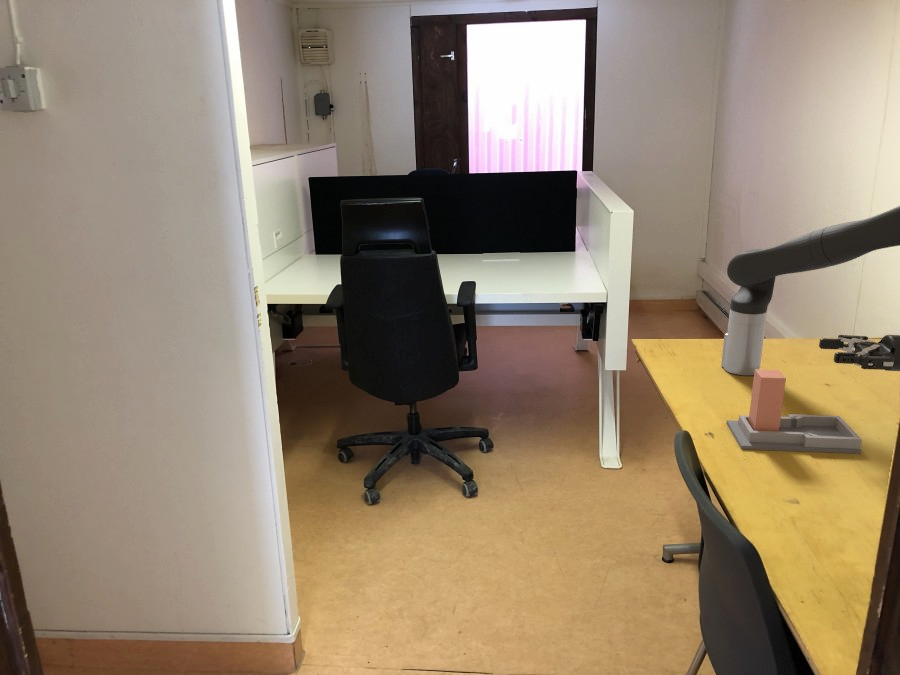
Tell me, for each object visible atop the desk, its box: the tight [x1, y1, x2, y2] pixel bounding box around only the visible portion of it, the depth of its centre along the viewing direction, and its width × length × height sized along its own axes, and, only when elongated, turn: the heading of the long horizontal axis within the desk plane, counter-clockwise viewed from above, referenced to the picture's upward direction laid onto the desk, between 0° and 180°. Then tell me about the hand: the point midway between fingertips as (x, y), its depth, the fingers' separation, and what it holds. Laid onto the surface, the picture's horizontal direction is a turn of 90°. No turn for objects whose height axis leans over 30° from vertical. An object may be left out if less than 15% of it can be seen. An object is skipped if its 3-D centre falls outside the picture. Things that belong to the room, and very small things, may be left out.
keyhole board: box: [726, 413, 862, 454], centre depth 159 cm, size 24×13×3 cm, turn 83°
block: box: [748, 368, 787, 432], centre depth 158 cm, size 5×5×14 cm
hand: (827, 350), depth 153 cm, fingers open, 8 cm apart
